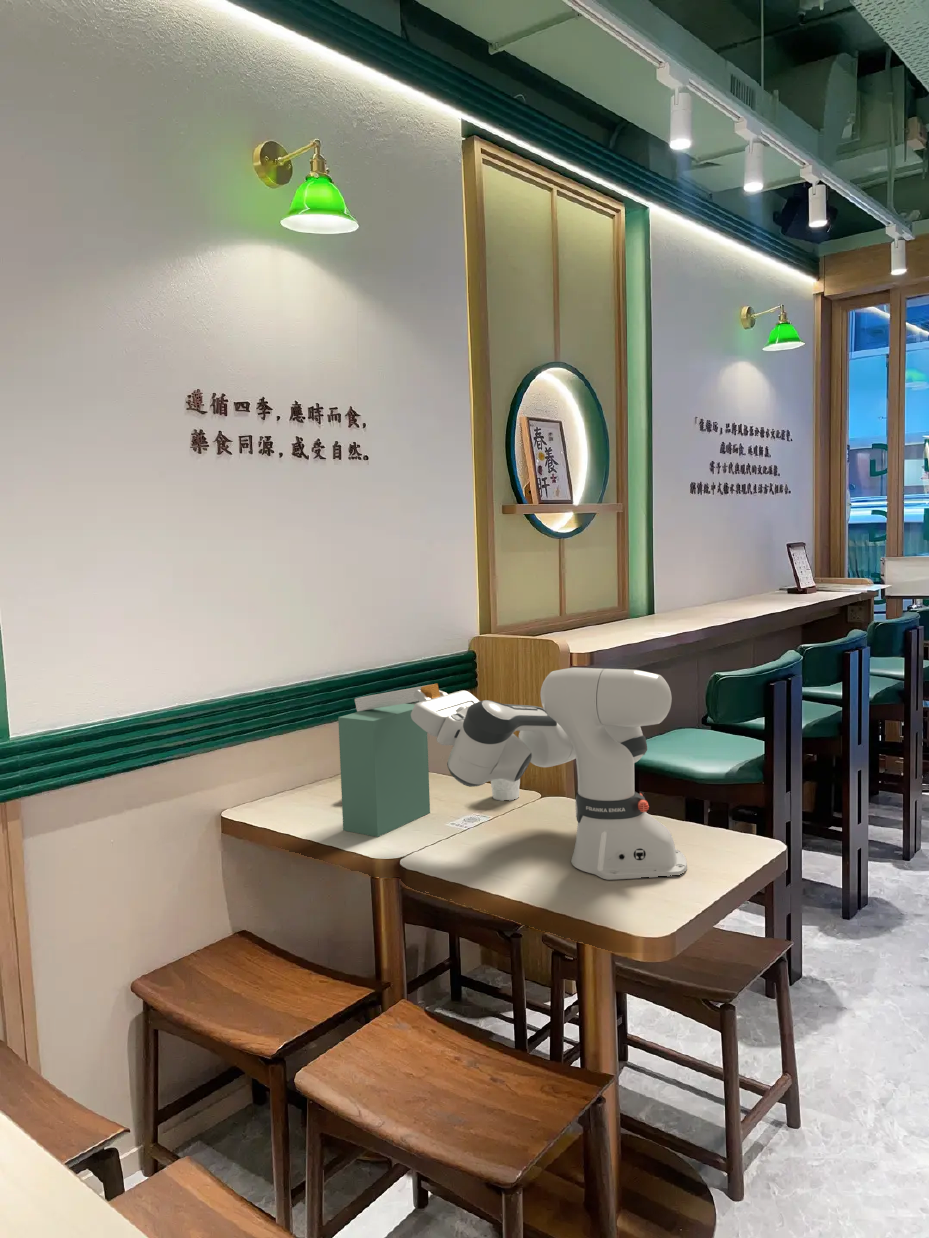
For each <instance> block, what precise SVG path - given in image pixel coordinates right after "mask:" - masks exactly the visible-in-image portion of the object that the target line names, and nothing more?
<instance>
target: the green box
mask: <svg viewBox="0 0 929 1238" xmlns="http://www.w3.org/2000/svg"><path fill="white" fill-rule="evenodd" d="M415 704H416V703H405V704H399V705H393V706H387V707H381V708H375V709H369V710H363V711H355V712H353V713H349V714H346V715H342V716H338V718H337V719H338V723H337V724H338V735H339V736H338V743H339V764H340V765H339V766H340V769H339V770H340V785H341V786H340V787H341V788H340V791H341V807H342V808H341V810H342V814H341V815H342V831H345V832H350V833H355V834H360V835H365V836H366V835H367V836H370V837H371V836H372V837H375V836H376V838H378V837H381V836H383V835H385V834H387V833H389V832H391V831H395V830H396V829H398V828H400V827H403V826H404V825H407V824H409V823H411V822H415V820H418V819H420V818H422V817H425V816H426V815H428V814H431V800H430V799H431V798H430V797H431V796H430V777H429V776H430V773H429V768H430V767H429V747H428V746H429V744H428V743H429V742H428V739H429V738H428V733H427V732H426V731H425V730H423V729H422V728H421V727H420V726H418V725H417V724H416V723H415V722H414V721H413V720H412V718H411V712H412V710H413V708H414V706H415ZM382 834H383V835H382ZM380 835H381V836H380Z"/></svg>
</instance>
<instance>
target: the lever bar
mask: <svg viewBox="0 0 929 1238" xmlns="http://www.w3.org/2000/svg"><path fill="white" fill-rule="evenodd" d="M419 689H422V691H424V692H425V696H426V697H427V698H428V697H429V698H430V699H433V698H437V697H440V693H439V690H440V689H439V683H434V684H433V683H432V684H427V685H422V686H421V685H420V686H416V687H411V688H406V689H405V688H404V689H399V690H392V691H388V692H381V693H377V694H371V695H366V696H361V697H357V698H354V703H355V709H356V712H359V711H363V710H369V709H375V708H381V707H387V706H393V705H399V704H412V703H418V702H419V700H418V699H417V698H415V697H414V693H415V691H416V690H419Z"/></svg>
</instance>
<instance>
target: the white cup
mask: <svg viewBox="0 0 929 1238" xmlns="http://www.w3.org/2000/svg"><path fill="white" fill-rule="evenodd" d="M520 784H521V778H520V779H519V780H517V781H515V782H510V781H507V780H504V779H498V780H491V781H490V785H491V796H492V798H493V800H496V801H503V802H504V800H509V801H514V799H515V800H517V799H519V798H520V786H521V785H520ZM518 797H519V798H518Z"/></svg>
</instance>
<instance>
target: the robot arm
mask: <svg viewBox="0 0 929 1238" xmlns="http://www.w3.org/2000/svg"><path fill="white" fill-rule="evenodd" d="M439 693H440V697H437V698H433V699H430V698H429V697H428V698H427V697H426V696H425V692H424V691H422V689H419V690H416V691H415V693H414V697H415V698H417V699H418V700H419V701H418V702H415V703H414V704H415V706H414V708H413V710H412V712H411V718H412V720H413V721H414V722H415V723H416V724H417V725H418V726H420V727H421V728H422V729H423V730H425V731H426V732H427V734H429V735H430V736H432V737H436V742H437V744H439V745H442V746H453V747H452V748H451V751H450V753H449V756H448V758H447V759H448V760H447V763H446V764H447V765H446V766H447V769H448V771H449V773H450V775H451V776H452V777H453V778H454V779H455V780H456V781H457V782H459V783H460V784H461V785H464V786H466V787H471V788H473V787H474V788H475V787H479V786H483V785H485V784H486V783H487V782H491V780H498V779H504V780H507V781H510V782H515V781H517V780H519V779H520V780H521V778H522V777H523V775H524V774H525V772H526V771H527V769H528V767H529V765H530V763H531V764H532V765H534V766H537V767H540V768H550V767H554V766H560V765H563V764H566V763H568V762H571V761H573V760H575V759H576V760H575V763H576V771H577V792H576V796H575V818H576V821H577V826H576V827H577V828H576V836H575V844H574V850H573V854H572V857H571V864H572V866H573V867H574V868H576V869H578V870H580V871H582V872H586V873H589V874H592V875H596V876H598V877H599V878H601V879H602V880H603V879H604V880H608V881H609V880H610V881H614V880H626V879H627V880H629V879H642V878H641V877H649V878H659V877H658V876H667V877H673V876H672V875H679V874H682V873H683V872H684V871H686V872H687V870H688V863H687V862H688V861H687V858H686V856H685V855H684V853H683V852H682V851H681V850H679V849H677V848H676V845H675V840H674V838H673V835H672V833H671V832H670V830H669V828H668V827H667V826H666V825H664V824H663V823H661V821H659V820H658V819H656V818H654V817H653V815H651V814H650V813H647V812H648V810H649V808H650V806H649V802H648V801H647V800H646V798H645V796H643V793H641V792H639V793H638V792H637V791H635V763H637V762H638V761H639V760H641V759H642V757H643V756H645V755H646V753H647V751H648V743H647V738H646V735H644V734H643V731H642V728H641V727H645V726H654V725H659V724H660V723H662V722H663V721H664V720H665V719H666V718H667V716H668V714H669V712H670V711H671V706H672V700H673V699H672V692H671V688H670V686H669V683H668V682H667V681H666V679H665V678H664V677H663V675H661V674H658V673H653V672H649V671H644V670H639V669H625V668H623V669H622V668H597V667H596V668H595V667H593V668H591V667H569V668H568V667H567V668H563V669H562V668H561V669H557V670H553V671H550V672H549V673H548V674H547V676H546V677H545V679H544V680H543V682H542V685H541V688H540V702H541V706H537V705H527V704H513V703H512V704H511V703H510V704H509V703H501V702H498V701H494V700H490V699H489V700H487V699H485V700H479V698H477V697H476V696H475V695H474V694H472V693H471V692H469V691H467V690H465V689H464V690H463V689H462V690H459V691H454V692H452V693H447V692H445V691H443V690H440V689H439ZM516 731H517V732H519V733H518V736H517V735H516V734H515V732H516ZM686 869H687V870H686ZM670 875H671V876H670ZM682 875H683V874H682Z"/></svg>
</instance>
